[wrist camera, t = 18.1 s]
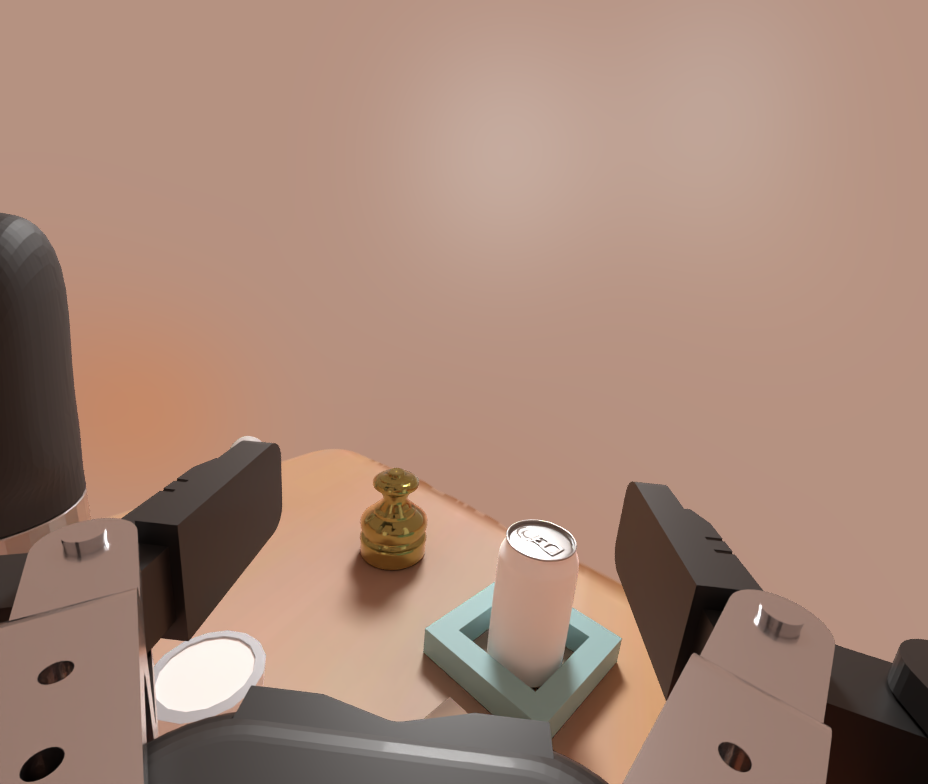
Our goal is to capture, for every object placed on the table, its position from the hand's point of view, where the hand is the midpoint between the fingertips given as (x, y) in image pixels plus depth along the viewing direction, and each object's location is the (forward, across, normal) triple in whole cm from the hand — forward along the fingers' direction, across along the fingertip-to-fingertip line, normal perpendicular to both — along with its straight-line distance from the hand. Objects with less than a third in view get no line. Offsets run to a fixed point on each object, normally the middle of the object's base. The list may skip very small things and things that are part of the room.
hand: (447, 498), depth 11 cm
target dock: (+24, -6, +28) cm, 38 cm away
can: (+24, -6, +28) cm, 38 cm away
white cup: (+13, +15, +28) cm, 34 cm away
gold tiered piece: (+37, +8, +28) cm, 47 cm away
